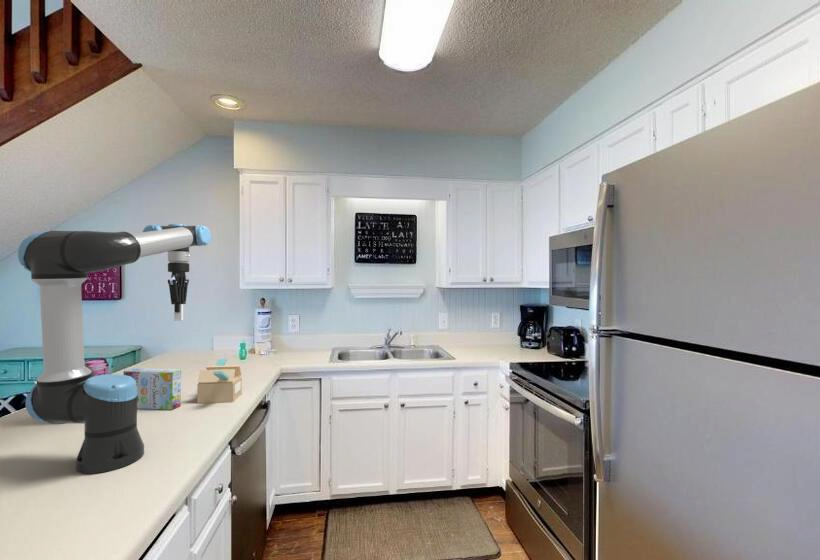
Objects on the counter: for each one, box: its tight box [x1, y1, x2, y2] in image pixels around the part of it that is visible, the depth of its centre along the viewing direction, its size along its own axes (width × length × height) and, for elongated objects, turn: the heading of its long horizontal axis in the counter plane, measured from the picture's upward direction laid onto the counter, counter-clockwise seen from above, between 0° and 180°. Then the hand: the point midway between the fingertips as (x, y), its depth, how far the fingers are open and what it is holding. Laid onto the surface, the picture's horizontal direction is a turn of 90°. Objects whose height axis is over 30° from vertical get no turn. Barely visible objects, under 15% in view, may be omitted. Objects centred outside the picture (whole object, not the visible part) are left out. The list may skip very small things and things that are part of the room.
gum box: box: [84, 357, 110, 376], centre depth 169 cm, size 24×8×14 cm, turn 42°
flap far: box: [205, 358, 243, 376], centre depth 170 cm, size 5×14×10 cm
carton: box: [197, 375, 243, 404], centre depth 162 cm, size 11×14×8 cm
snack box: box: [123, 367, 182, 411], centre depth 151 cm, size 21×6×15 cm, turn 84°
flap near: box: [197, 369, 235, 384], centre depth 154 cm, size 5×14×10 cm
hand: (178, 320), depth 154 cm, fingers closed
